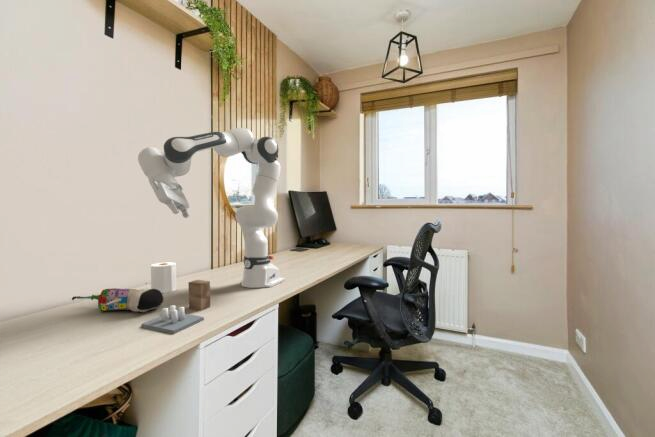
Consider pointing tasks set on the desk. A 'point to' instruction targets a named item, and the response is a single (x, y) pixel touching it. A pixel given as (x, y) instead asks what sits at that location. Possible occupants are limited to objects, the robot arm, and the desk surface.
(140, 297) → the toy
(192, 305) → the block
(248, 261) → the robot arm
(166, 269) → the toilet paper
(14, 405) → the desk surface
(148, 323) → the stand
